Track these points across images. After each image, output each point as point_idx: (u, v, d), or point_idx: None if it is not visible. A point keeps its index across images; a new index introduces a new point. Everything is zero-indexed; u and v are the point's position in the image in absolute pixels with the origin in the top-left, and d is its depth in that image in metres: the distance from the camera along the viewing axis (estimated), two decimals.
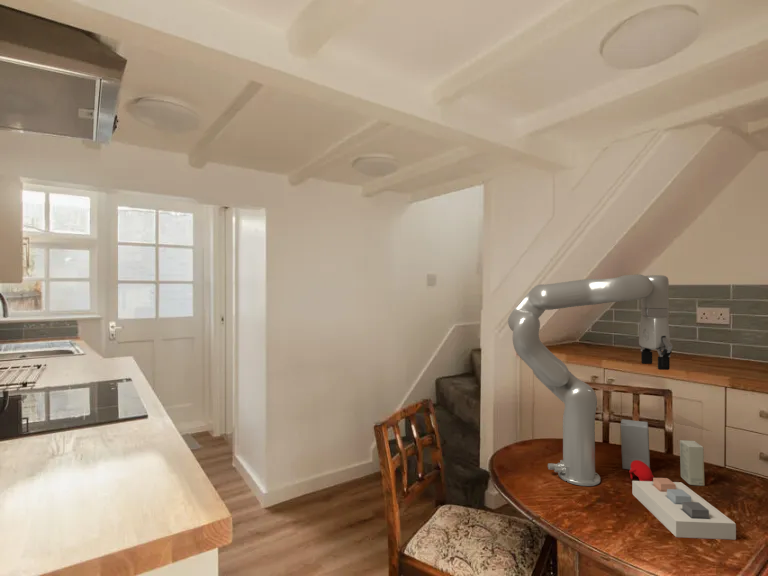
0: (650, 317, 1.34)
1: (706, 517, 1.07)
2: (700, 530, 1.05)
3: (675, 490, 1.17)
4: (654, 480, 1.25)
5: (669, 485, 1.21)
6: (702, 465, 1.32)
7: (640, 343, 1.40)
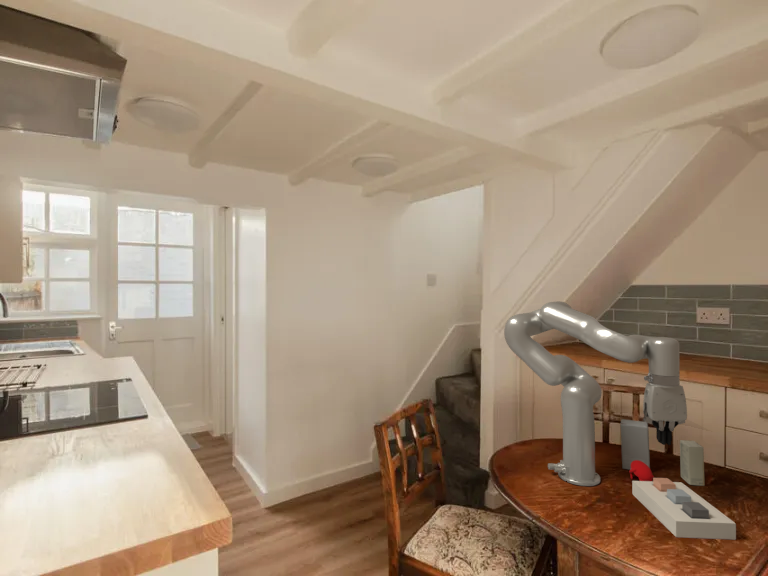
0: (678, 386, 1.20)
1: (706, 517, 1.07)
2: (700, 530, 1.05)
3: (675, 490, 1.17)
4: (654, 480, 1.25)
5: (669, 485, 1.21)
6: (702, 465, 1.32)
7: (657, 417, 1.21)
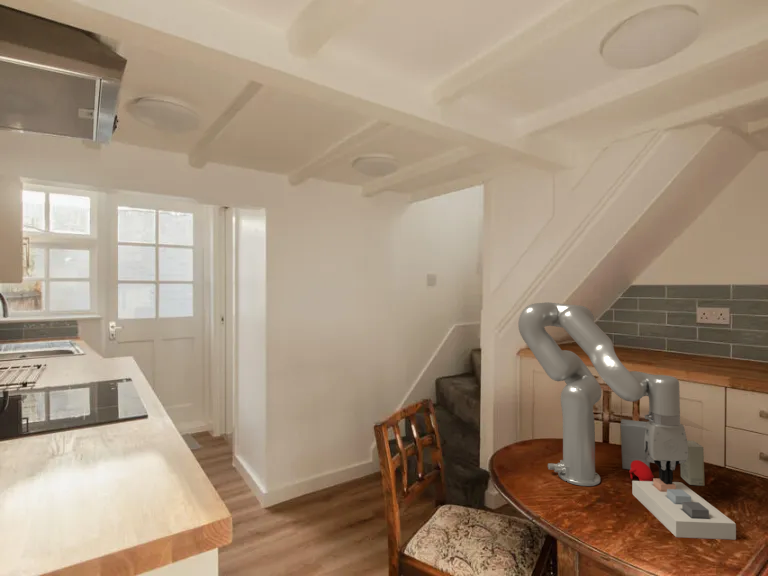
0: (679, 425, 1.20)
1: (706, 517, 1.07)
2: (700, 530, 1.05)
3: (675, 490, 1.17)
4: (654, 481, 1.25)
5: (669, 486, 1.21)
6: (702, 465, 1.32)
7: (658, 457, 1.20)
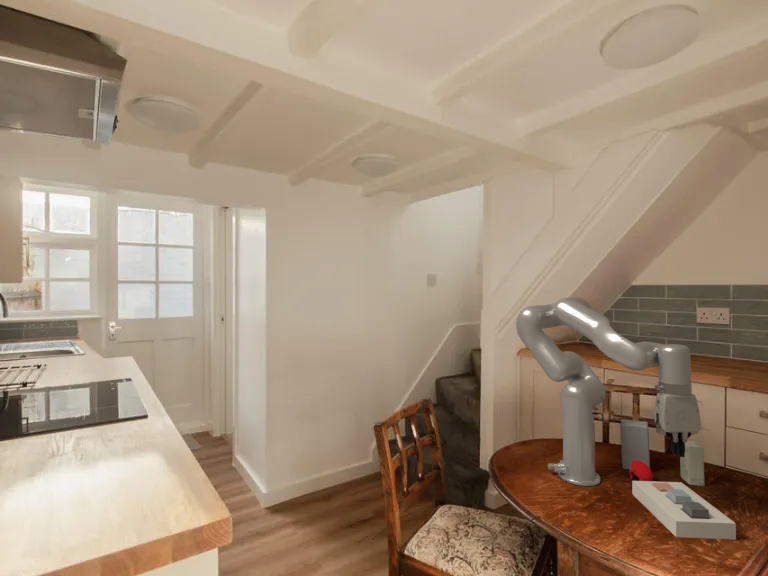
0: (691, 394, 1.15)
1: (706, 517, 1.07)
2: (700, 530, 1.05)
3: (675, 490, 1.17)
4: (654, 485, 1.25)
5: None
6: (702, 465, 1.32)
7: (670, 428, 1.15)
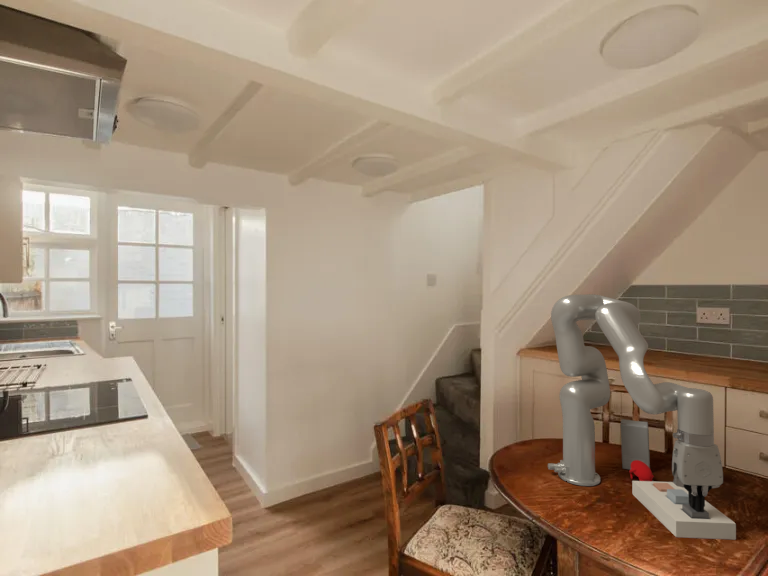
0: (713, 445, 1.06)
1: None
2: (700, 530, 1.05)
3: (675, 490, 1.17)
4: (654, 485, 1.25)
5: None
6: None
7: (689, 481, 1.06)
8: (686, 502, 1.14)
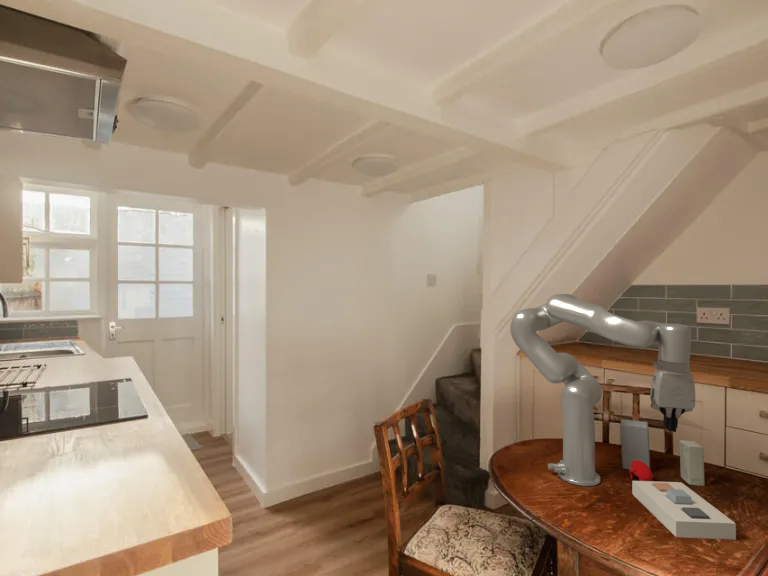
0: (688, 373, 1.18)
1: None
2: (700, 530, 1.05)
3: (675, 490, 1.17)
4: (654, 485, 1.25)
5: None
6: (702, 465, 1.32)
7: (663, 404, 1.19)
8: (686, 502, 1.14)
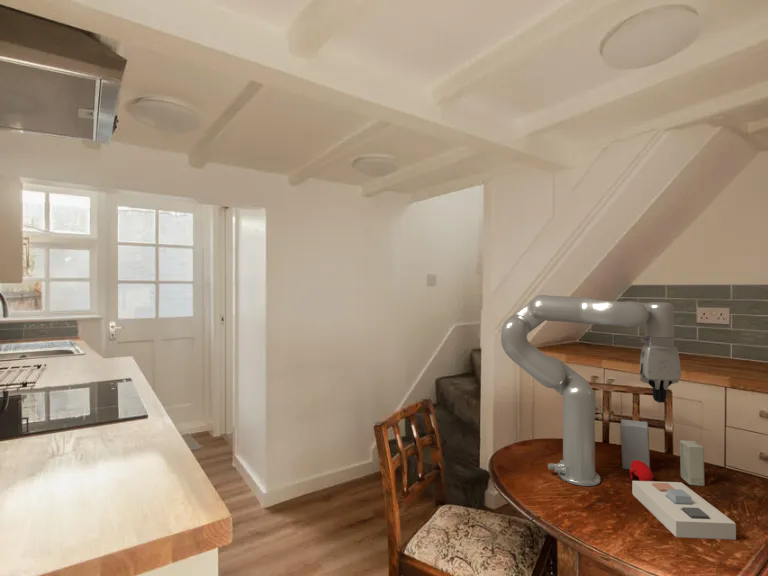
0: (673, 346, 1.28)
1: None
2: (700, 530, 1.05)
3: (675, 490, 1.17)
4: (654, 485, 1.25)
5: None
6: (702, 465, 1.32)
7: (652, 376, 1.28)
8: (686, 502, 1.14)
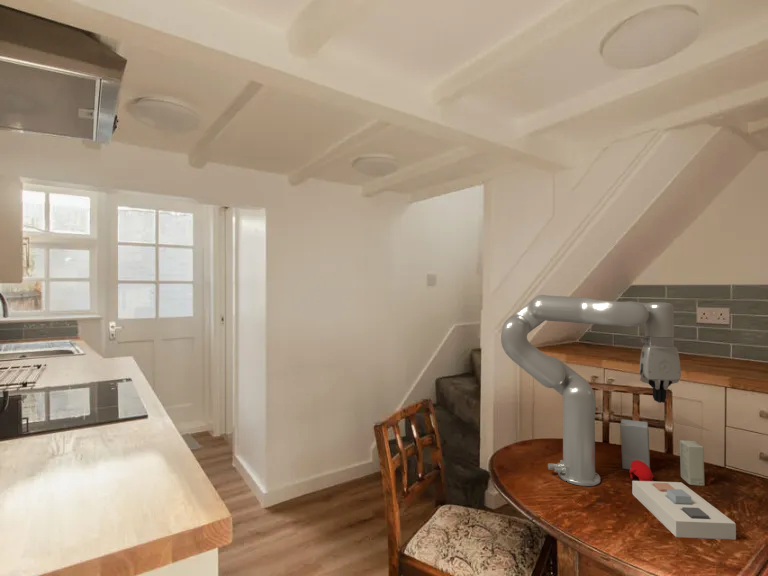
0: (673, 346, 1.28)
1: None
2: (700, 530, 1.05)
3: (675, 490, 1.17)
4: (654, 485, 1.25)
5: None
6: (702, 465, 1.32)
7: (652, 376, 1.28)
8: (686, 502, 1.14)
